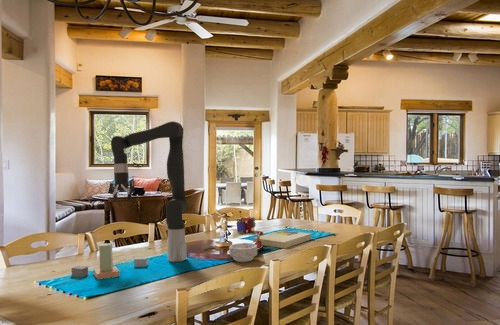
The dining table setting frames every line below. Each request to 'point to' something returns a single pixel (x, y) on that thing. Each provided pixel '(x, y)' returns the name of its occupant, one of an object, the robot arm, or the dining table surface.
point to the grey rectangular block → (79, 271)
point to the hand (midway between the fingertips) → (122, 201)
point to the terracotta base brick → (106, 273)
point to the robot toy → (245, 224)
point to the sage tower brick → (106, 257)
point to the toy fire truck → (259, 239)
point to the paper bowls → (243, 251)
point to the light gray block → (140, 261)
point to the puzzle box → (283, 239)
